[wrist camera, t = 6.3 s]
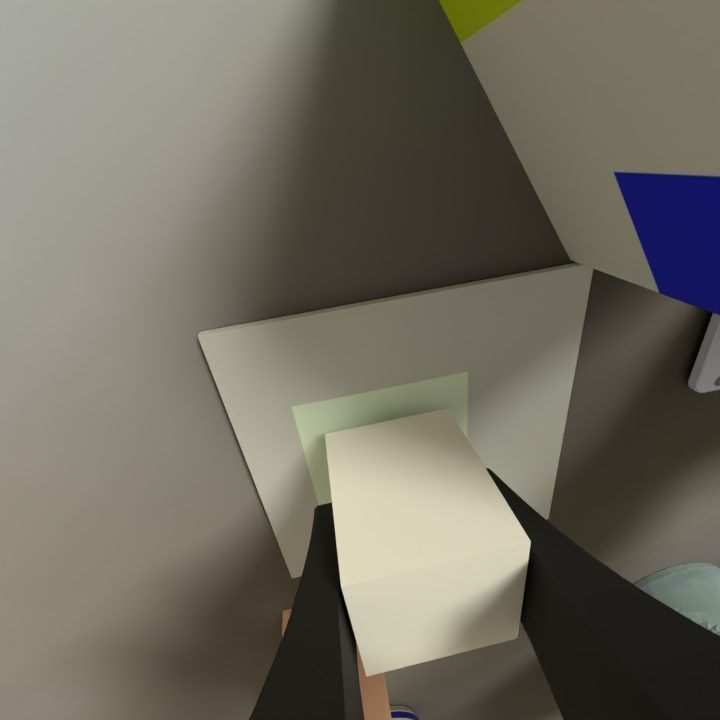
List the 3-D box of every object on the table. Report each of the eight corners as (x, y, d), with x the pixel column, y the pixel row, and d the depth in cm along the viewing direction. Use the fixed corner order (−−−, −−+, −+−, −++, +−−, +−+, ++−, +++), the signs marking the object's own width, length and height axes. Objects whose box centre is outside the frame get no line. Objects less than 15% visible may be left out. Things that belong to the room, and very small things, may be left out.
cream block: (450, 494, 14) (517, 638, 10) (344, 518, 14) (366, 677, 10) (448, 408, 12) (530, 541, 8) (324, 434, 12) (340, 586, 8)
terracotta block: (367, 589, 18) (389, 722, 14) (376, 632, 20) (398, 759, 16) (282, 609, 18) (279, 752, 14) (301, 651, 20) (303, 786, 16)
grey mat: (587, 260, 12) (595, 263, 11) (544, 513, 18) (549, 519, 17) (200, 331, 11) (197, 336, 10) (291, 571, 17) (291, 579, 16)
